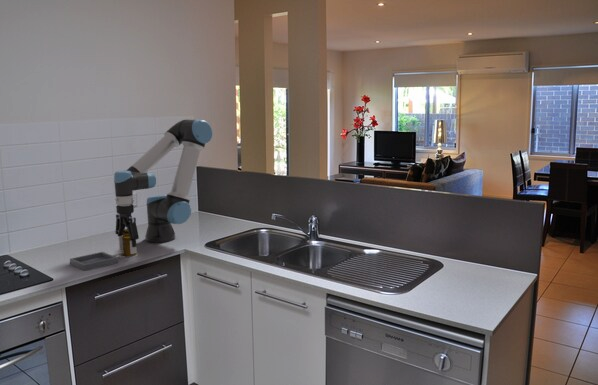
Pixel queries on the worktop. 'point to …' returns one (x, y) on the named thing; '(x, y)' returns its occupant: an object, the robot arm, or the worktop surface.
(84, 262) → the tray
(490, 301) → the worktop surface
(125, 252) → the condiment
